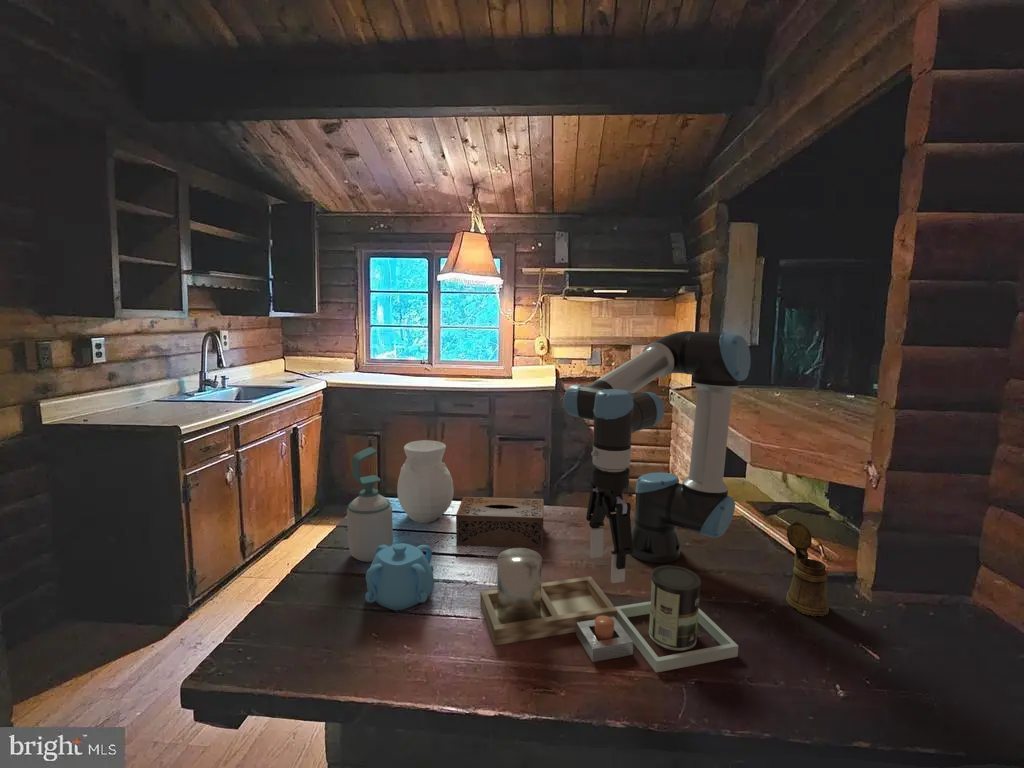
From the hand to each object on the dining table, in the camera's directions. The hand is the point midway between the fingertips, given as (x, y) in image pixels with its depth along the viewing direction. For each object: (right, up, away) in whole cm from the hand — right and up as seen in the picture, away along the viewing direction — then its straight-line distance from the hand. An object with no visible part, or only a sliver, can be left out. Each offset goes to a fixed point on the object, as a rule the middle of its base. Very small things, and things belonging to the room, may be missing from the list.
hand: (606, 568), depth 110 cm
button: (0, -16, +3) cm, 16 cm away
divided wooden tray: (-12, -16, +13) cm, 23 cm away
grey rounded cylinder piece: (-18, -15, +11) cm, 26 cm away
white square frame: (+16, -17, +6) cm, 24 cm away
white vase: (-49, -6, +67) cm, 83 cm away
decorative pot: (-47, -14, +20) cm, 53 cm away
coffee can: (+16, -17, +6) cm, 24 cm away
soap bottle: (-60, -11, +41) cm, 74 cm away
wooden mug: (+52, -15, +20) cm, 58 cm away
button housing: (0, -17, +3) cm, 18 cm away
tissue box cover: (-23, -9, +53) cm, 59 cm away
